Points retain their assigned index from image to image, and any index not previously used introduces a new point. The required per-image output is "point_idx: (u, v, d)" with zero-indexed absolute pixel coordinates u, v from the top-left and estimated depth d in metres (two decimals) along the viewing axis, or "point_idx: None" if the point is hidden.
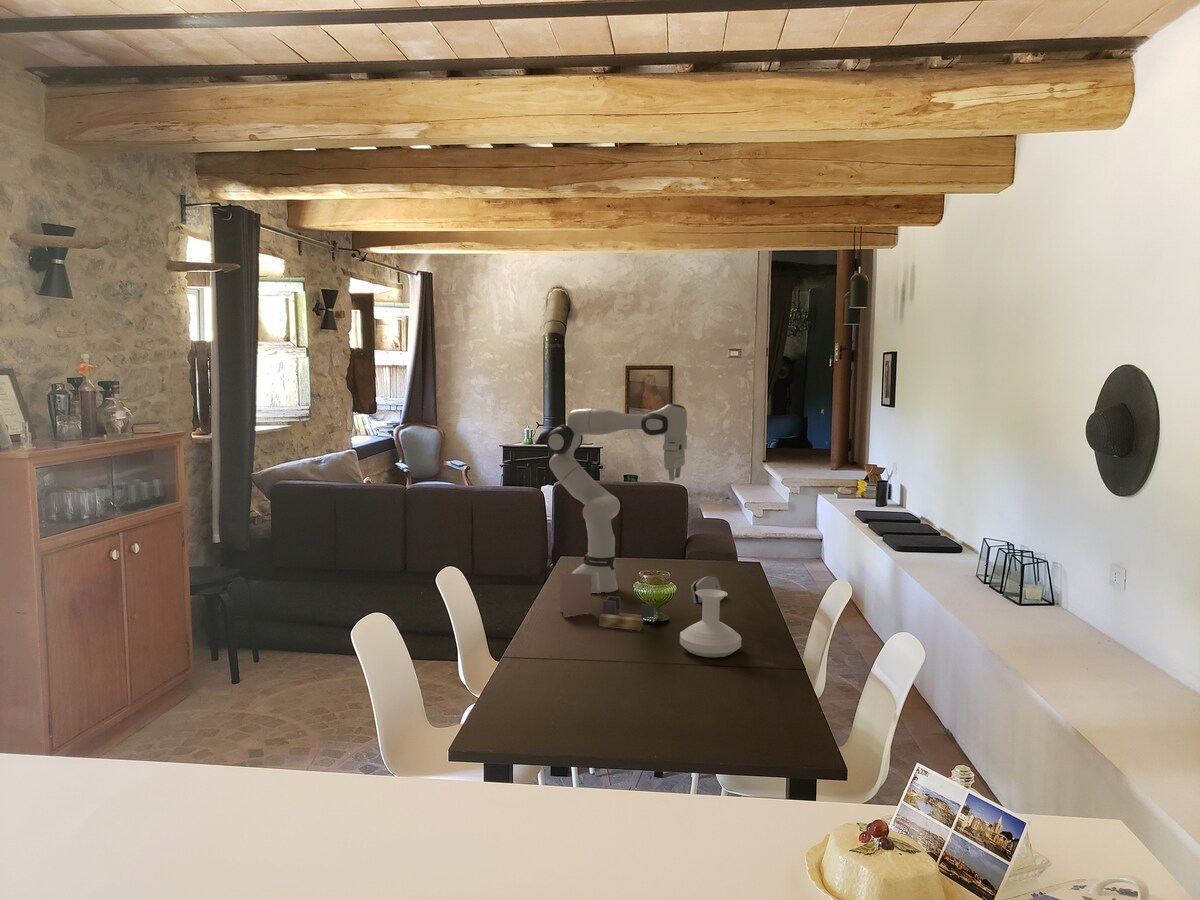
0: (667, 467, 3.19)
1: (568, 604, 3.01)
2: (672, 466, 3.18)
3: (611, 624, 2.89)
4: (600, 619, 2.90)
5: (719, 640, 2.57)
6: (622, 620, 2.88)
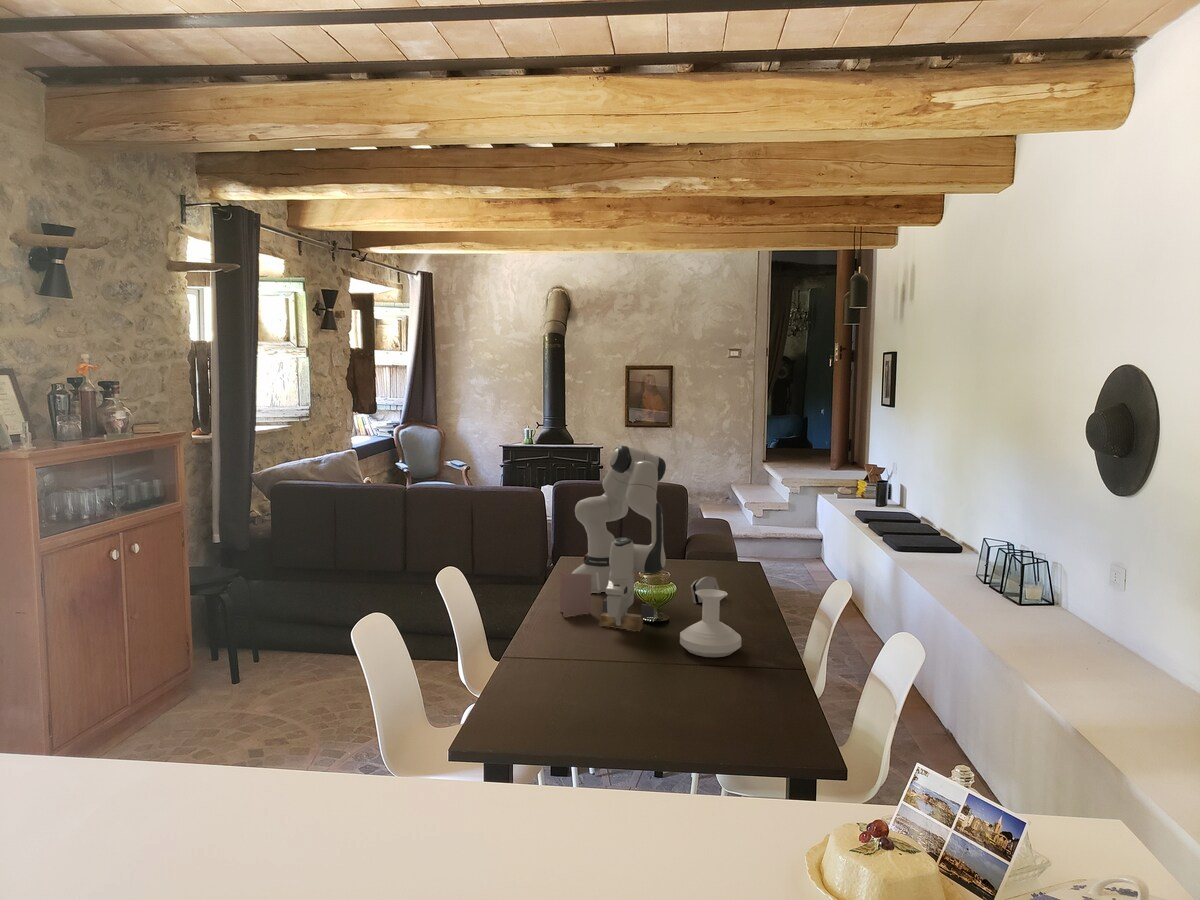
0: (610, 614, 2.80)
1: (568, 604, 3.01)
2: (616, 614, 2.80)
3: (611, 623, 2.90)
4: (600, 618, 2.91)
5: (719, 640, 2.57)
6: (621, 619, 2.88)
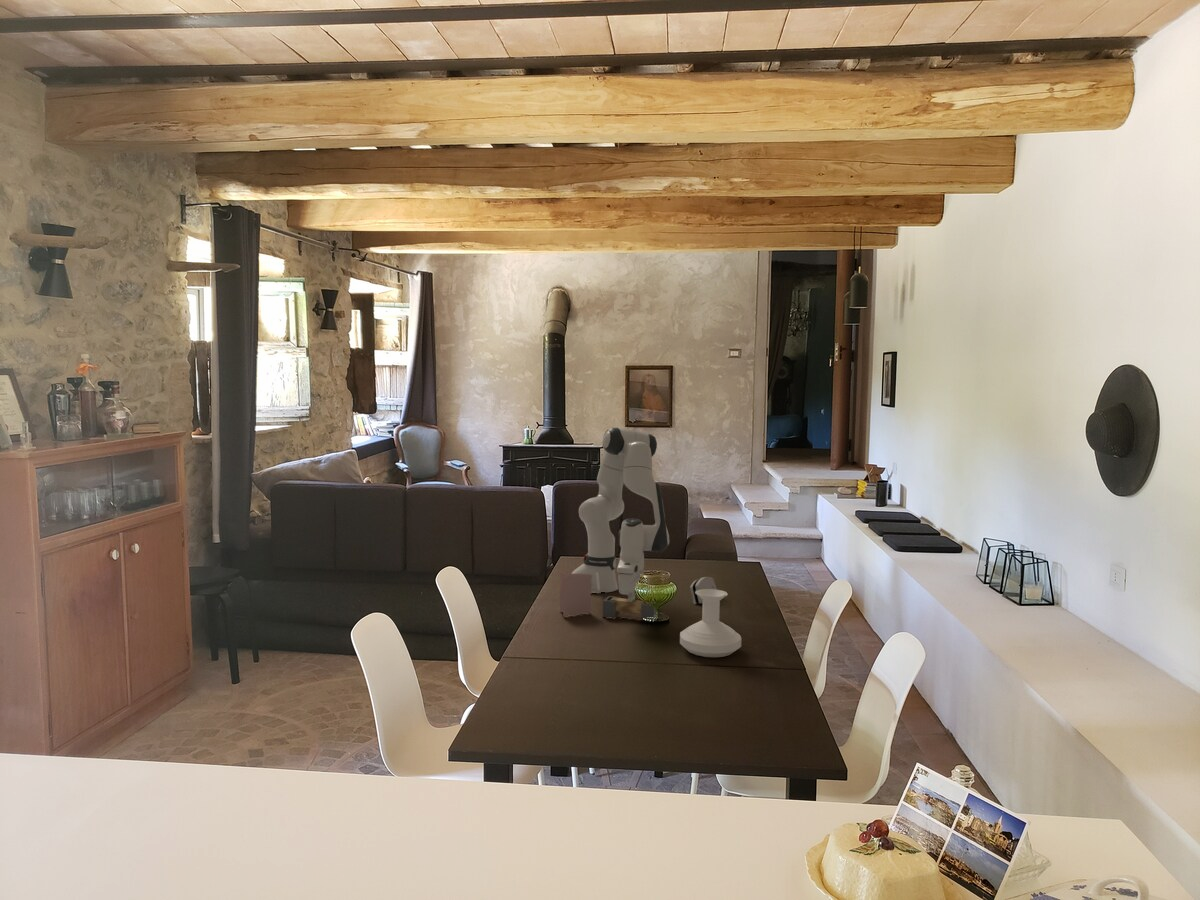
0: (622, 592, 2.91)
1: (568, 604, 3.01)
2: (627, 591, 2.90)
3: (621, 607, 3.01)
4: None
5: (719, 640, 2.57)
6: (631, 603, 2.99)
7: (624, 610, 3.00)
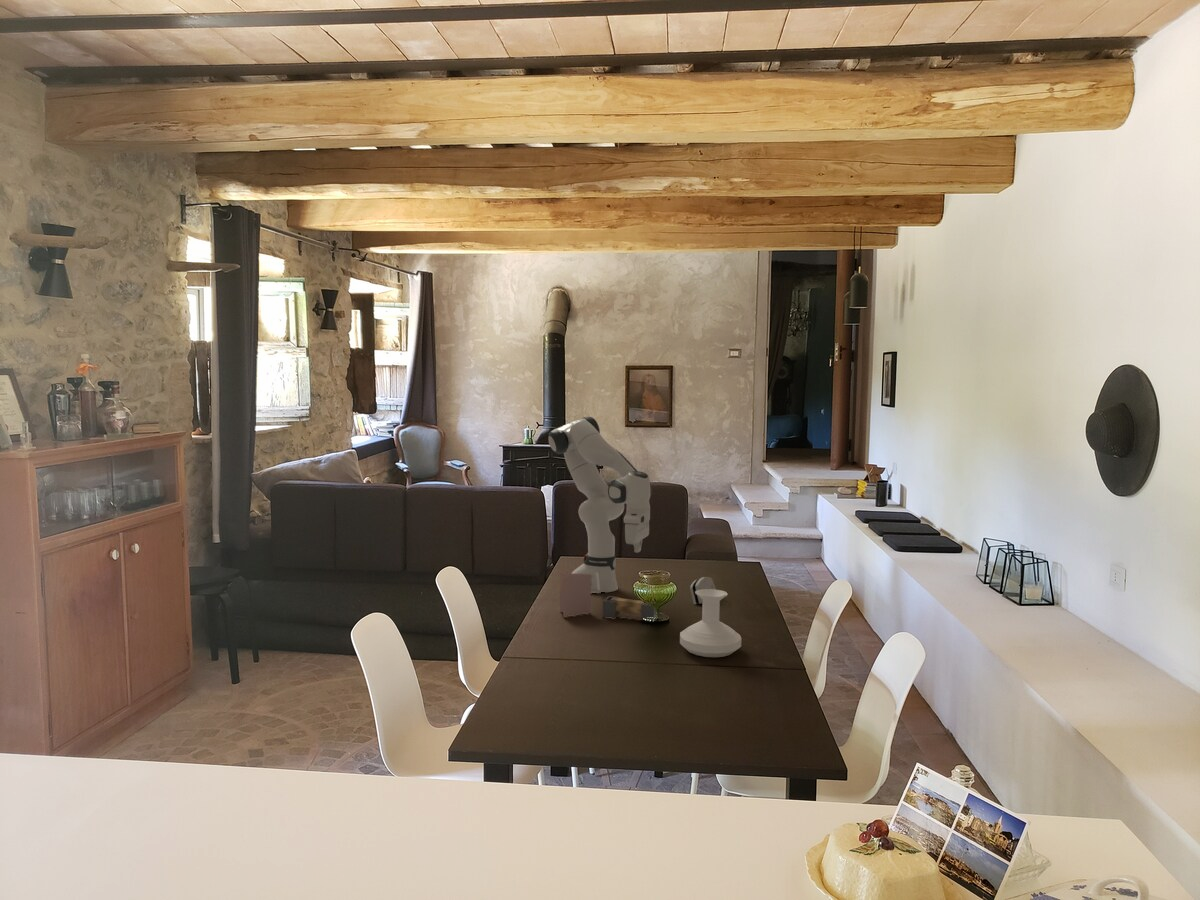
0: (628, 541, 2.97)
1: (568, 604, 3.01)
2: (633, 540, 2.97)
3: (621, 607, 3.01)
4: None
5: (719, 640, 2.57)
6: (631, 603, 2.99)
7: (624, 610, 3.00)
